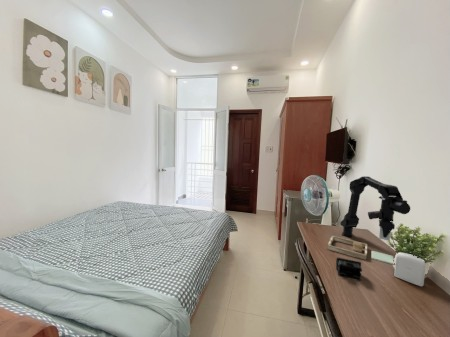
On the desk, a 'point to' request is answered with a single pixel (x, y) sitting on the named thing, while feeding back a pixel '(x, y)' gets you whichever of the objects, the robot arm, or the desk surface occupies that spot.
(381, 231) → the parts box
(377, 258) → the pad
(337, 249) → the corral
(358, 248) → the oak cube
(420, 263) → the photo printer
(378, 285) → the desk surface
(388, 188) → the robot arm
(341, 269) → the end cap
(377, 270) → the desk surface
